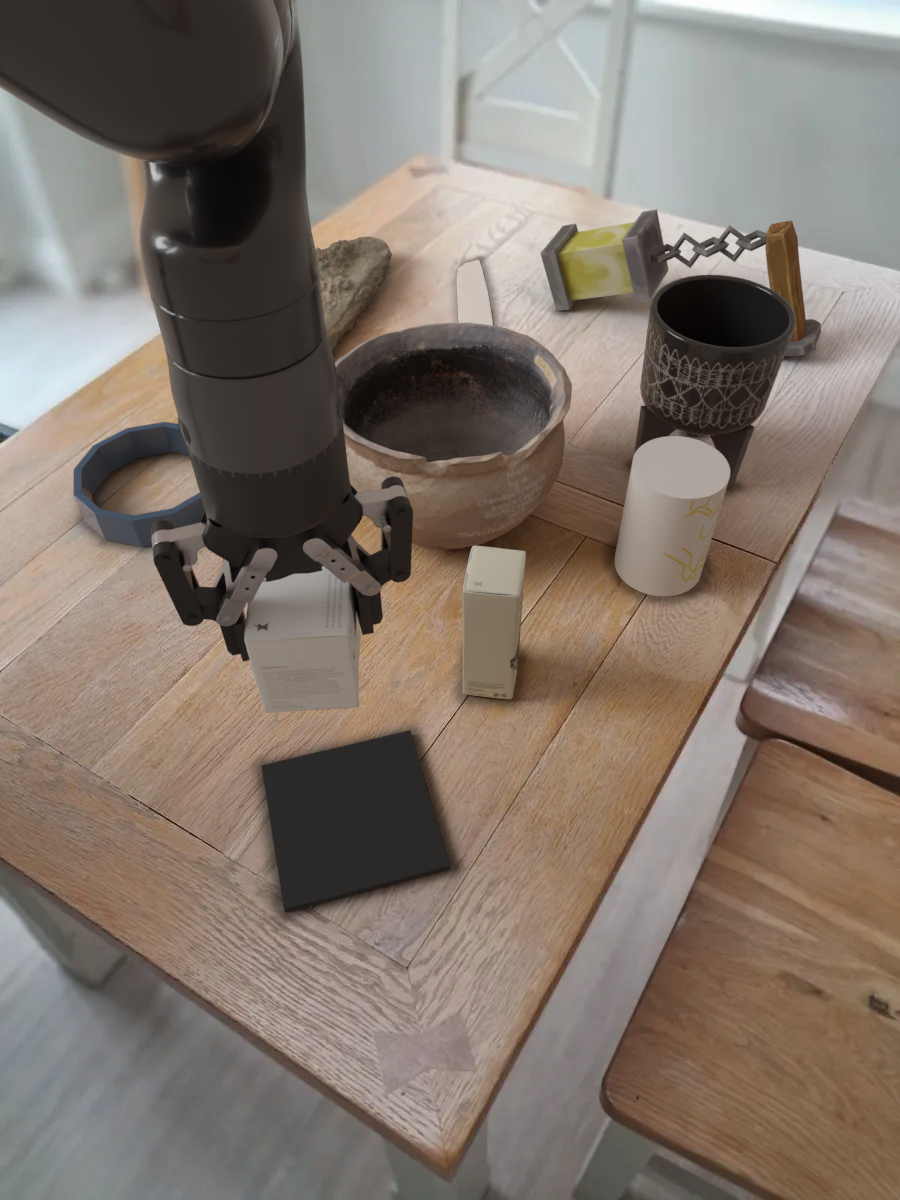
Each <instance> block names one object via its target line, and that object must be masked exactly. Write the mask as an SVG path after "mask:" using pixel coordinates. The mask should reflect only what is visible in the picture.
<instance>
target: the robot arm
mask: <svg viewBox="0 0 900 1200" xmlns="http://www.w3.org/2000/svg"><path fill="white" fill-rule="evenodd" d="M301 37H302V36H301V29H300V18H299V10H298V3H297V0H0V88H1V89H2V90H3V91H5V92H7V93H8V94H10V95H12V96H13V97H15V98H16V99H18V100H20V101H21V102H23V103H24V104H26V105H27V106H29V107H31V108H32V109H34V110H36V111H37V112H39V113H40V114H42V115H43V116H45V117H46V118H48V119H50V120H52V121H53V122H55V123H57V124H58V125H60V126H62V127H63V128H65V129H67V130H69V131H71V132H72V133H73V134H76V135H78V136H79V137H81V138H83V139H84V140H85V139H86V140H87V141H89V142H91V143H93V144H95V145H98V146H100V147H103V148H105V149H107V150H109V151H112V152H115V153H116V154H120V155H123V156H126V157H129V158H132V159H136V160H140V161H143V168H144V176H145V194H144V203H143V206H142V207H143V208H142V212H141V213H142V214H141V219H140V226H139V246H140V260H141V263H142V269H143V273H144V278H145V282H146V286H147V289H148V292H149V295H150V299H151V302H152V306H153V309H154V313H155V317H156V320H157V322H158V328H159V331H160V335H161V338H162V341H163V345H164V351H165V355H166V359H167V360H166V361H167V367H168V377H169V384H170V385H169V386H170V391H171V396H172V399H173V400H172V401H173V404H174V407H175V410H176V414H177V424H178V427H179V430H180V432H181V435H182V437H183V439H184V441H185V442H186V446H187V449H188V453H189V455H188V456H189V460H190V463H191V466H192V470H193V473H194V478H195V480H196V484H197V488H198V491H199V492H200V495H201V498H202V502H203V505H204V509H205V510H204V513H203V516H202V518H201V522H200V523H196V524H192V525H188V526H184V527H179V528H175V527H174V525H173V524H172V523H171V522H169V521H165V520H161V521H157V522H155V523H154V524H153V525H152V526H151V536H152V545H151V547H152V557H153V558H152V559H153V564H154V566H155V568H156V570H157V573H158V574H159V577H160V578H161V581H162V583H163V585H164V587H165V589H166V591H167V594H168V595H169V598H170V599H171V602H172V604H173V606H174V608H175V611H176V612H177V615H178V616H179V619H180V622H182V624H183V625H185V626H188V627H196V626H199V625H200V624H202V623H203V622H204V620H209V621H214V622H216V624H218V626H219V628H220V631H221V635H222V638H223V640H224V644H225V647H226V651H227V652H228V653H229V654H230V655H232V656H237V655H240V657H241V660H242V662H243V663H244V662H250V659H249V655H248V652H247V648H246V644H245V641H244V634H245V625H246V615H245V610H244V609H245V607H246V605H247V604H248V602H249V603H251V602H252V601H253V599H254V597H255V595H256V593H257V591H258V589H259V587H260V585H261V583H262V581H263V579H264V578H266V581H267V582H269V581H274V580H279V579H282V578H285V577H287V576H290V575H292V574H304V573H313V572H318V571H322V566H324V567H325V568H326V569H328V570H329V571H330V572H331V573H332V574H334V575H335V576H336V577H337V578H338V579H340V580H341V581H342V582H343V583H346V582H347V581H348V582H349V583H350V584H351V585H352V586H353V592H354V599H355V607H356V613H357V617H358V621H359V625H360V632H361V636H365V635H369V634H375V630H374V629H375V628H374V625H379V624H381V622H382V620H383V618H384V616H383V605H382V595H381V590H382V588H383V586H384V585H386V584H387V583H388V582H391V581H392V582H395V583H404V582H405V581H407V580H408V579H409V578H410V577H411V576H412V575H411V574H412V550H413V543H412V528H413V509H412V506H411V504H410V501H409V498H408V496H407V493H406V490H405V488H404V485H403V482H402V480H401V479H400V478H399V477H396V476H392V477H388V478H386V479H385V480H384V481H383V482H382V485H381V489H380V490H372V491H365V492H357V491H356V489H355V488H354V487H353V486H352V485H351V484H350V479H349V470H348V462H347V453H346V445H345V436H344V428H343V420H342V413H343V399H342V395H341V393H340V390H339V386H338V378H337V372H336V366H335V363H336V361H335V357H334V353H333V351H332V350H331V347H330V343H329V340H328V336H327V331H326V325H325V318H324V310H323V302H322V294H321V285H320V277H319V269H318V263H317V257H316V245H315V241H314V236H313V232H312V226H311V220H310V213H309V203H308V193H307V149H306V148H307V143H306V142H307V141H306V113H305V112H306V111H305V108H306V107H305V87H304V86H305V85H304V66H303V52H302V51H303V50H302V39H301ZM366 516H369V517H371V518H372V519H373V521H372V522H373V525H374V526H375V527H376V528H379V529H380V544H381V545H380V550H378V551H376V552H374V553H371V554H370V552H368V550H366V549H365V547H363V546H362V545H361V544H360V543H359V542H358V541H356V539H355V538H354V536H353V533H354V531H355V530H356V528H357V527H358V526H359V524H360V523H361V521H362V519H363V517H366ZM202 548H206V549H208V551H210V552H211V553H213V554H214V555H216V556H218V557H220V558H221V559H222V562H221V563H222V564H221V568H220V570H219V572H218V574H217V577H216V579H215V581H214V583H213V585H212V586H201V585H200V583H199V580H198V578H197V576H196V574H195V572H194V569H193V568H192V567H193V566H195V564H197V562H198V553H199V551H200V550H202Z"/></svg>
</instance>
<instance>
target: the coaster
mask: <svg viewBox="0 0 900 1200" xmlns="http://www.w3.org/2000/svg"><path fill="white" fill-rule="evenodd" d="M260 768H261V772H262V779H263V785H264V792H265V797H266V804H267V810H268V816H269V823H270V829H271V836H272V842H273V843H272V844H273V848H274V854H275V861H276V867H277V868H276V869H277V875H278V879H279V886H280V887H279V888H280V892H281V898H282V899H281V900H282V905H283V906H282V907H283V911H284V913H290V912H294V911H298V910H302V909H305V908H309V907H313V906H317V905H320V904H324V903H327V902H331V901H336V900H339V899H343V898H347V897H351V896H355V895H358V894H361V893H365V892H370V891H372V890H373V891H374V890H376V889H381V888H385V887H388V886H393V885H396V884H399V883H403V882H406V881H411V880H414V879H418V878H422V877H426V876H430V875H433V874H437V873H440V872H445V871H448V870H451V864H450V861H449V858H448V855H447V851H446V847H445V844H444V840H443V837H442V833H441V830H440V826H439V823H438V820H437V816H436V813H435V809H434V806H433V803H432V800H431V796H430V792H429V789H428V786H427V783H426V779H425V776H424V772H423V769H422V765H421V762H420V758H419V754H418V751H417V748H416V745H415V741H414V738H413V735H412V731H411V730H410V729H409V730H404V731H401V732H396V733H392V734H387V735H384V736H379V737H375V738H371V739H367V740H363V741H359V742H353V743H350V744H345V745H342V746H336V747H333V748H328V749H324V750H320V751H316V752H312V753H307V754H303V755H299V756H295V757H290V758H286V759H282V760H278V761H273V762H269V763H264V764H262V765H261V767H260Z"/></svg>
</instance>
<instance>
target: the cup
mask: <svg viewBox="0 0 900 1200" xmlns="http://www.w3.org/2000/svg"><path fill="white" fill-rule="evenodd" d="M634 452H635V451H634ZM729 478H730V467H729V464H728V462H727V460H726V459H725V457H724V456H723V455H722V454H721V453H720V452H719V451H718V450H717V449H716V448H715V446H712V445H711V444H710V443H707V442H704V441H702V440H699V439H696V438H692V437H689V436H681V435H669V436H666V437H660V438H656V439H653V440H650V441H648V442H646V443H644V444H643V445H642V446H640V447H639V448H638V450H637V451H636V452H635V454H634V453H633V457H632V461H631V466H630V472H629V478H628V484H627V489H626V495H625V500H624V505H623V511H622V515H621V523H620V527H619V532H618V536H617V537H618V538H617V543H616V548H615V553H614V554H615V555H614V558H613V559H614V562H613V563H614V568H615V570H616V573H617V574H618V577H620V579H621V580H622V581H623V582H624V583H625V584H626V585H627V586H629V587H630V588H632V589H634V590H636V591H638V592H640V593H642V594H645V595H648V596H653V597H662V598H663V597H664V598H665V597H674V596H675V597H676V596H679V595H682V594H684V593H687V592H689V591H690V590H692V589H693V588H694V587H695V586H696V585H697V584H698V582H699V581H700V579H701V576H702V573H703V569H704V566H705V563H706V559H707V556H708V552H709V549H710V546H711V542H712V539H713V535H714V532H715V528H716V525H717V522H718V519H719V515H720V512H721V509H722V505H723V502H724V498H725V495H726V491H727V490H726V488H727V485H728V481H729Z"/></svg>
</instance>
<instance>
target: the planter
mask: <svg viewBox="0 0 900 1200" xmlns="http://www.w3.org/2000/svg"><path fill="white" fill-rule="evenodd" d="M648 315H649V316H648V322H647V329H646V339H645V347H644V353H643V354H644V355H643V362H642V370H641V377H640V387H639V390H640V396H641V399H642V402H643V404H644V405H640V408H639V415H638V423H637V430H636V438H635V444H634V453H633V455H634V454H635V452H636V451H637V450H638V448H639V447H640V446H642V445H643V444H644V443H646V442H648V441H650V440H653V439H656V438H660V437H666V436H671V434H672V433H674V432H675V431H681V432H684V433H685V435H686V436H690V437H696V438H698V436H709V437H710V439H711V441H712V443H713V445H714V448H715V449H717V450H718V451H719V452H720V453H721V454H722V455H723V456H724V457H725V459H726V460H727V462H728V464H729V467H730V478H729V481H728V485H727V488H726V491H728V490H730V489H731V488H732V487H733V486H735V482H736V480H737V477H738V474H739V472H740V468H741V467H742V463H743V461H744V458H745V455H746V452H747V449H748V447H749V445H750V442H751V439H752V436H753V433H754V431H755V428H756V427H755V426H754V425H753V424H754V423H755V422H756V421H757V420H758V419H759V418H760V417H761V416H762V414H763V413H764V411H765V409H766V406H767V403H768V401H769V398H770V395H771V393H772V390H773V387H774V385H775V382H776V379H777V376H778V374H779V371H780V369H781V366H782V363H783V361H784V357H785V356H784V355H785V353H786V350H787V347H788V345H789V342H790V339H791V337H792V334H793V331H794V328H795V325H796V317H795V314H794V311H793V309H792V308H791V306H790V304H789V303H788V302H787V301H786V300H785V299H784V298H783V297H782V296H780V295H779V294H778V293H776V292H775V291H773V290H771V289H770V287H767V286H765V285H763V284H760V283H758V282H757V281H753V280H749V279H746V278H743V277H738V276H737V277H736V276H732V275H723V274H698V275H690V276H685V277H681V278H678V279H675V280H672V281H670V282H669V283H666V284H664V285H663V286H662V287H660V288H659V289H658V291H657V290H656V292H655V293H654V294H653V296H652V298H651V301H650V307H649V314H648Z"/></svg>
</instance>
